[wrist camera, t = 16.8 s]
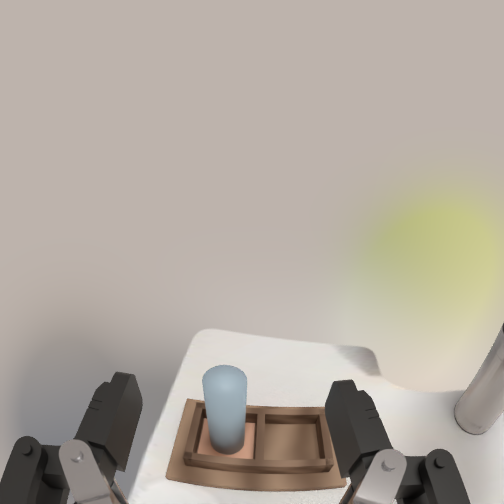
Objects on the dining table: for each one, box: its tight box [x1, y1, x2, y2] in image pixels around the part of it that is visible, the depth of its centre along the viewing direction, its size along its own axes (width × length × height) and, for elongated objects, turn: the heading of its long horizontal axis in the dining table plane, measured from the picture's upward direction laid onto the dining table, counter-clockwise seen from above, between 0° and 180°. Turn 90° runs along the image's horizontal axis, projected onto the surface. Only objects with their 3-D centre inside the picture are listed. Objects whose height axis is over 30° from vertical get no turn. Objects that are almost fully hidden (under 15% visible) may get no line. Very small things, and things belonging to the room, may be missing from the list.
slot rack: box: [166, 399, 347, 491], centre depth 30 cm, size 22×14×4 cm, turn 87°
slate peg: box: [202, 365, 247, 455], centre depth 28 cm, size 4×4×13 cm
